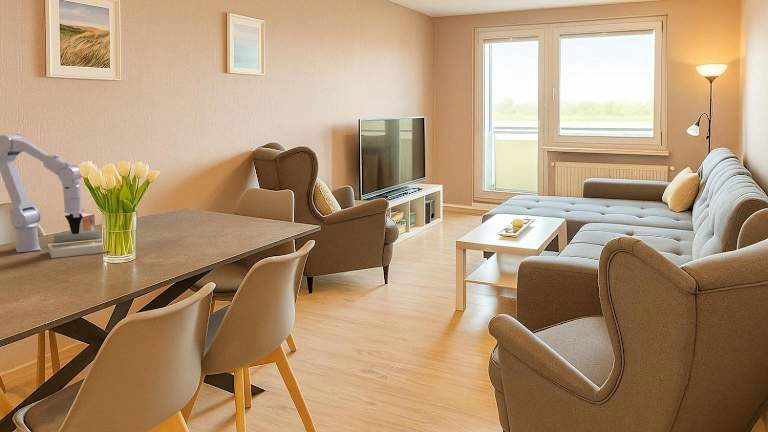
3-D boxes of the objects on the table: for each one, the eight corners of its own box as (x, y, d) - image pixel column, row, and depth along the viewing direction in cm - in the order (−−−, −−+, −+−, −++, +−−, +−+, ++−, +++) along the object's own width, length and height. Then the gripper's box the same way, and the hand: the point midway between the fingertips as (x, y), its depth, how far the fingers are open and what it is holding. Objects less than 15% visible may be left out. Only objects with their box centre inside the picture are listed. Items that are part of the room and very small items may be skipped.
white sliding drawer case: (51, 258, 232) (51, 250, 232) (48, 252, 241) (47, 244, 241) (110, 251, 243) (109, 244, 242) (104, 246, 252) (104, 238, 252)
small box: (84, 242, 259) (82, 216, 257) (71, 241, 260) (69, 216, 258) (96, 238, 267) (94, 213, 265) (84, 237, 268) (82, 213, 266)
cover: (53, 236, 236) (53, 234, 237) (53, 243, 241) (52, 241, 241) (101, 231, 245) (101, 229, 246) (100, 239, 250) (99, 237, 250)
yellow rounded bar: (68, 242, 240) (68, 248, 242) (69, 248, 239) (69, 253, 240) (93, 240, 245) (93, 245, 247) (95, 245, 243) (95, 251, 245)
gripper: (87, 199, 235) (89, 235, 237) (81, 195, 247) (83, 229, 249) (65, 201, 231) (69, 237, 233) (60, 196, 243) (63, 231, 245)
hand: (75, 233), depth 241 cm, fingers closed, pressing on cover
